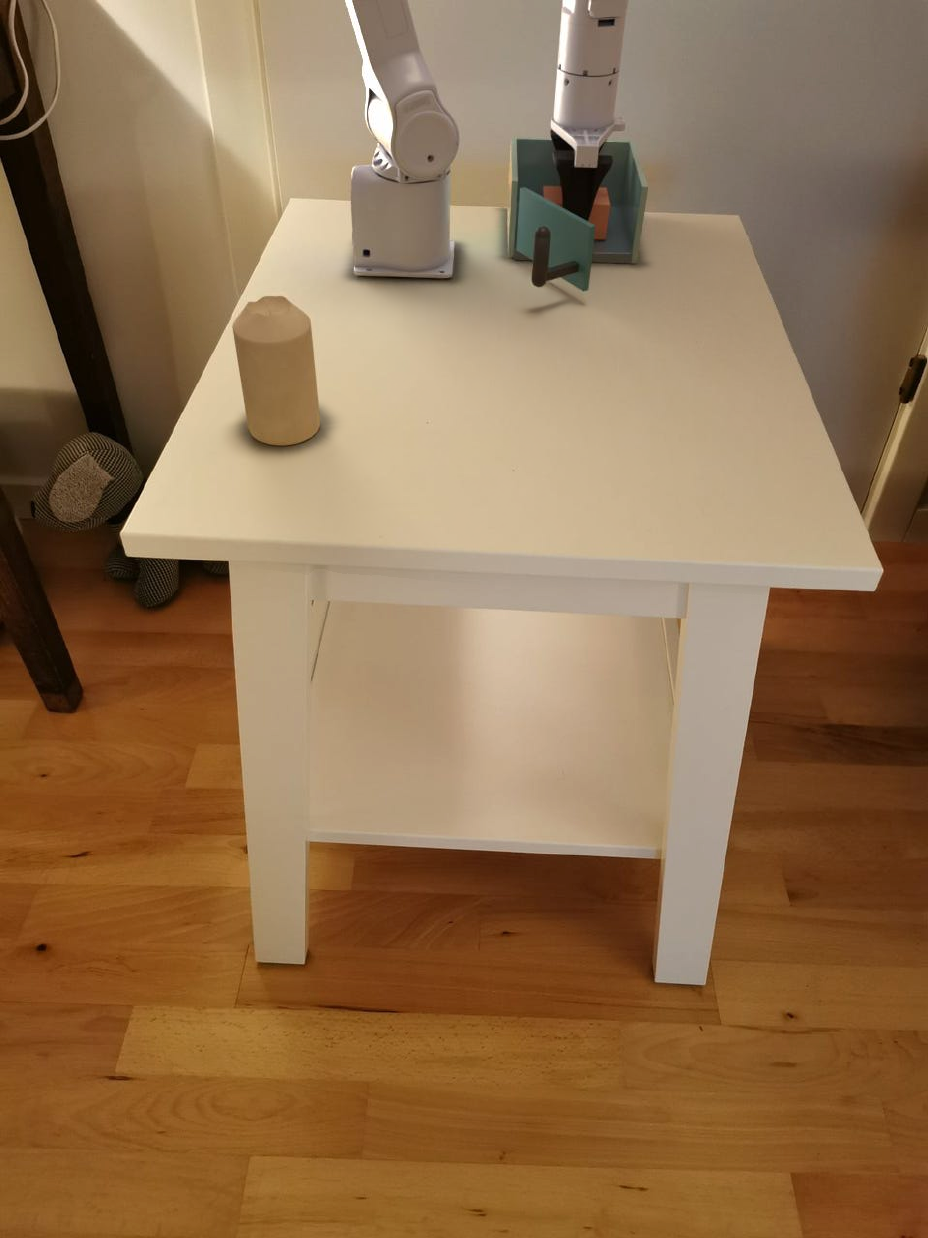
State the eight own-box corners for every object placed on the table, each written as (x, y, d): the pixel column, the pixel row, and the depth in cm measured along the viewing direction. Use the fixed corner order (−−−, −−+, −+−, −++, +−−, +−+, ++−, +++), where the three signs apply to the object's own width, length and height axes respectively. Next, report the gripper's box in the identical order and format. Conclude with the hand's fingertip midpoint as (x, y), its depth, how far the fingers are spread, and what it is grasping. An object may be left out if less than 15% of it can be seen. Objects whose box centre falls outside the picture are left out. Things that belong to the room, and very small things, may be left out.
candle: (307, 450, 73) (294, 327, 66) (237, 441, 73) (217, 317, 66) (329, 411, 76) (319, 290, 69) (263, 402, 77) (245, 282, 70)
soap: (606, 239, 98) (610, 204, 96) (541, 237, 98) (544, 202, 96) (602, 221, 101) (606, 187, 99) (540, 219, 101) (543, 185, 99)
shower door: (475, 261, 94) (477, 193, 89) (521, 248, 96) (525, 182, 91) (541, 304, 87) (546, 234, 83) (588, 290, 90) (596, 220, 85)
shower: (507, 259, 97) (511, 182, 92) (507, 209, 106) (510, 136, 101) (636, 263, 97) (648, 186, 92) (625, 212, 106) (634, 139, 101)
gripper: (639, 93, 84) (619, 247, 94) (624, 46, 94) (607, 190, 104) (558, 90, 84) (546, 245, 94) (552, 44, 94) (541, 188, 104)
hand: (573, 216), depth 99 cm, fingers closed on soap, 4 cm apart
